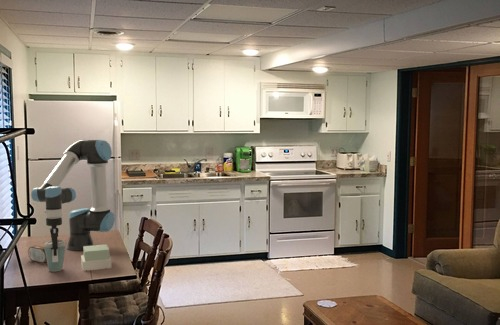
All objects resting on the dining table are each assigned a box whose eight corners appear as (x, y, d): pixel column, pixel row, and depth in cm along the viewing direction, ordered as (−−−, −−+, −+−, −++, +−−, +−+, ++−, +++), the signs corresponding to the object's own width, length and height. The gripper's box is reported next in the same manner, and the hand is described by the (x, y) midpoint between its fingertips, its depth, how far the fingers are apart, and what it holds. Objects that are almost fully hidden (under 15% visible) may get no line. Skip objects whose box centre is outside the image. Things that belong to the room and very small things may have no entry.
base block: (81, 264, 274) (80, 255, 274) (108, 261, 279) (108, 252, 279) (83, 271, 261) (82, 262, 261) (111, 268, 266) (111, 259, 266)
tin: (50, 263, 276) (50, 247, 275) (45, 264, 273) (45, 248, 272) (32, 259, 283) (31, 244, 283) (27, 260, 281) (26, 245, 280)
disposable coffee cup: (44, 274, 256) (43, 244, 255) (44, 268, 266) (43, 239, 265) (67, 271, 260) (66, 242, 259) (66, 266, 270) (65, 237, 268)
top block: (83, 255, 273) (83, 246, 273) (106, 253, 278) (106, 244, 277) (85, 261, 262) (85, 251, 262) (109, 259, 266) (109, 249, 266)
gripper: (45, 213, 271) (46, 253, 272) (46, 222, 248) (47, 265, 249) (61, 213, 273) (61, 252, 275) (62, 220, 250) (63, 263, 252)
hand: (54, 258), depth 262 cm, fingers open, 13 cm apart
